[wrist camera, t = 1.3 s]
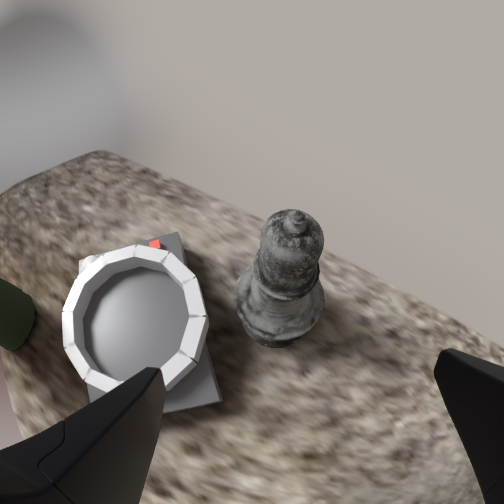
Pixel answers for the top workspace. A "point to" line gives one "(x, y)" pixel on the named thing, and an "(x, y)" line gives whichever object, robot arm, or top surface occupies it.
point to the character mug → (14, 315)
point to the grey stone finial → (282, 281)
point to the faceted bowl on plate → (141, 322)
